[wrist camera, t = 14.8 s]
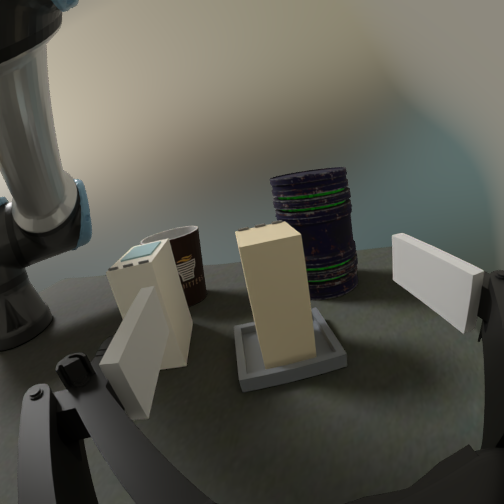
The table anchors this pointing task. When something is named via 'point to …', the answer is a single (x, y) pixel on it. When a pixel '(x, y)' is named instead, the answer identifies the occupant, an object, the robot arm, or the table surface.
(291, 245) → the cream rectangular block
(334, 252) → the storage jar
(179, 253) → the coffee mug
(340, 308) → the table surface
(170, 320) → the cream box with panel
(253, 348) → the tray
